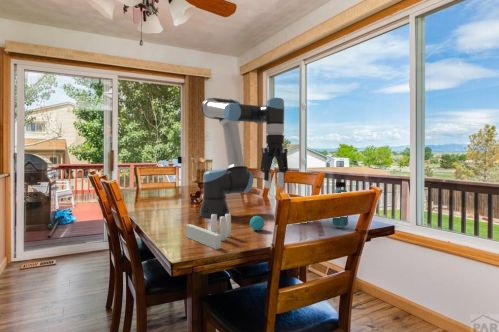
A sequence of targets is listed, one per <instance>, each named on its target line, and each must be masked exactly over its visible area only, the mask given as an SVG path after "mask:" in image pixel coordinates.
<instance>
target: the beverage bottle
mask: <svg viewBox="0 0 499 332" xmlns="http://www.w3.org/2000/svg"><path fill="white" fill-rule="evenodd" d="M334 186H335V187H336V188H338V189H334V190H333V192H332V194H333V193H341V192H348V191H347V190H346V189H343V188H346V181H336V182H335V185H334ZM339 188H342V189H339ZM332 225H333V226H336V227H347V226H348V225H349V215H348V216H347V217H340V218H332Z"/></svg>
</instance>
